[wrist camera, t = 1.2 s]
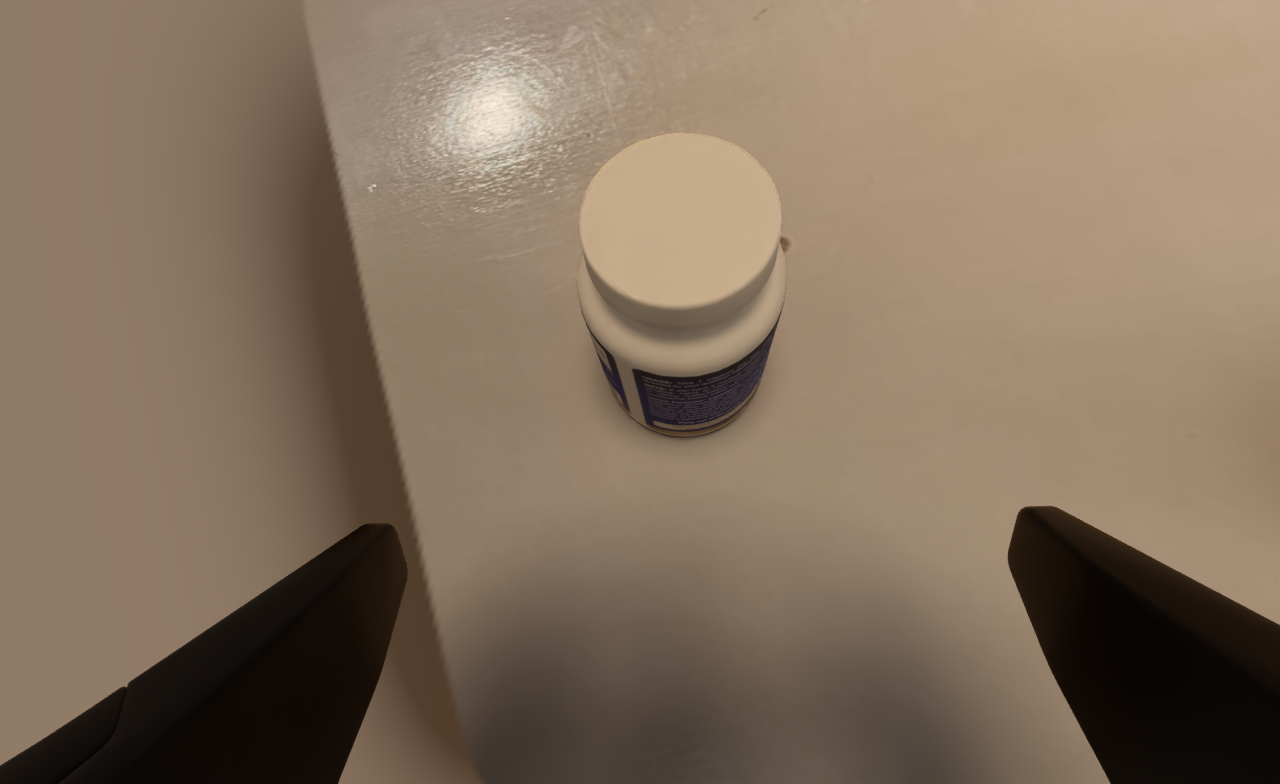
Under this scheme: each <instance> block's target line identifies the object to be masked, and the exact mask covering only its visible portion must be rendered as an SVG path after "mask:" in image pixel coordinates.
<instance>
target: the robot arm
mask: <svg viewBox="0 0 1280 784" xmlns="http://www.w3.org/2000/svg"><path fill="white" fill-rule="evenodd" d="M1008 564H1009V568H1010V571H1011V573H1012V576H1013V578H1014V581H1015V583H1016V586H1017V588H1018V591H1019V593H1020V596H1021V598H1022V601H1023V603H1024V606H1025V608H1026V611H1027V613H1028V616H1029V618H1030V621H1031V623H1032V626H1033V628H1034V631H1035V633H1036V636H1037V638H1038V641H1039V643H1040V646H1041V648H1042V651H1043V653H1044V656H1045V658H1046V660H1047V662H1048V665H1049V667H1050V669H1051V671H1052V673H1053V675H1054V677H1055V679H1056V681H1057V683H1058V685H1059V687H1060V689H1061V691H1062V693H1063V695H1064V697H1065V698H1066V700H1067V702H1068V704H1069V706H1070V708H1071V710H1072V712H1073V714H1074V715H1075V717H1076V719H1077V721H1078V723H1079V725H1080V727H1081V729H1082V730H1083V732H1084V734H1085V736H1086V738H1087V740H1088V742H1089V744H1090V746H1091V747H1092V749H1093V751H1094V753H1095V755H1096V757H1097V759H1098V761H1099V762H1100V764H1101V766H1102V768H1103V770H1104V772H1105V774H1106V776H1107V778H1108V779H1109V781H1110V783H1111V784H1280V625H1278V624H1277V623H1275V622H1273V621H1271V620H1269V619H1267V618H1265V617H1263V616H1261V615H1260V614H1258V613H1256V612H1254V611H1252V610H1250V609H1248V608H1246V607H1244V606H1242V605H1241V604H1239V603H1237V602H1235V601H1233V600H1231V599H1229V598H1227V597H1225V596H1224V595H1222V594H1220V593H1218V592H1216V591H1214V590H1212V589H1210V588H1208V587H1207V586H1205V585H1203V584H1201V583H1199V582H1197V581H1195V580H1193V579H1191V578H1189V577H1188V576H1186V575H1184V574H1182V573H1180V572H1178V571H1176V570H1174V569H1172V568H1171V567H1169V566H1167V565H1165V564H1163V563H1161V562H1159V561H1157V560H1155V559H1154V558H1152V557H1150V556H1148V555H1146V554H1144V553H1142V552H1140V551H1138V550H1136V549H1135V548H1133V547H1131V546H1129V545H1127V544H1125V543H1123V542H1121V541H1119V540H1118V539H1116V538H1114V537H1112V536H1110V535H1108V534H1106V533H1104V532H1102V531H1101V530H1099V529H1097V528H1095V527H1093V526H1091V525H1089V524H1087V523H1085V522H1083V521H1082V520H1080V519H1078V518H1076V517H1074V516H1072V515H1070V514H1068V513H1066V512H1065V511H1063V510H1061V509H1059V508H1057V507H1053V506H1029V507H1024V508H1022V509H1021V510H1020V511H1019V513H1018V515H1017V519H1016V522H1015V526H1014V530H1013V534H1012V538H1011V542H1010V546H1009V550H1008ZM407 576H408V569H407V563H406V560H405V556H404V553H403V550H402V546H401V543H400V540H399V537H398V533H397V531H396V529H395V527H394V526H393V525H391V524H389V523H378V524H365V525H363V526H361V527H359V528H358V529H356V530H355V531H353V532H352V533H350V534H349V535H347V536H346V537H344V538H343V539H341V540H340V541H339V542H337V543H335V544H334V545H333V546H331V547H330V548H328V549H326V550H325V551H324V552H322V553H321V554H319V555H318V556H316V557H315V558H313V559H312V560H310V561H309V562H307V563H306V564H304V565H303V566H301V567H300V568H298V569H297V570H295V571H294V572H292V573H291V574H289V575H288V576H286V577H285V578H283V579H282V580H280V581H279V582H277V583H276V584H275V585H273V586H271V587H270V588H269V589H267V590H266V591H264V592H263V593H261V594H260V595H258V596H257V597H255V598H254V599H252V600H251V601H249V602H248V603H246V604H245V605H244V606H242V607H240V608H239V609H237V610H236V611H234V612H233V613H231V614H230V615H228V616H227V617H225V618H224V619H222V620H221V621H219V622H218V623H216V624H215V625H213V626H212V627H211V628H209V629H208V630H206V631H205V632H203V633H202V634H200V635H199V636H197V637H196V638H194V639H193V640H191V641H190V642H188V643H187V644H185V645H184V646H182V647H181V648H179V649H178V650H176V651H175V652H173V653H172V654H170V655H169V656H168V657H166V658H164V659H163V660H161V661H160V662H158V663H157V664H155V665H154V666H152V667H151V668H150V669H148V670H147V671H145V672H144V673H142V674H141V675H139V676H138V677H136V678H135V679H133V680H132V681H130V682H129V684H128V686H127V687H121V688H119V689H118V690H117V691H115V692H114V693H112V694H111V695H109V696H108V697H106V698H105V699H103V700H102V701H100V702H99V703H97V704H96V705H94V706H93V707H91V708H90V709H88V710H87V711H85V712H84V713H82V714H81V715H79V716H78V717H76V718H75V719H73V720H72V721H70V722H69V723H67V724H65V725H64V726H62V727H61V728H59V729H58V730H56V731H55V732H54V733H52V734H50V735H49V736H47V737H46V738H44V739H42V740H41V741H39V742H38V743H36V744H35V745H33V746H31V747H30V748H28V749H26V750H25V751H23V752H22V753H20V754H18V755H17V756H15V757H14V758H12V759H10V760H9V761H7V762H5V763H4V764H2V765H1V766H0V784H338V782H339V779H340V777H341V774H342V772H343V769H344V767H345V764H346V762H347V759H348V757H349V754H350V752H351V749H352V747H353V744H354V742H355V739H356V737H357V734H358V732H359V729H360V726H361V724H362V721H363V719H364V716H365V714H366V711H367V709H368V706H369V704H370V701H371V699H372V696H373V694H374V691H375V688H376V686H377V683H378V680H379V677H380V675H381V671H382V668H383V665H384V661H385V658H386V655H387V651H388V647H389V644H390V640H391V636H392V633H393V629H394V626H395V622H396V618H397V615H398V611H399V607H400V604H401V600H402V597H403V593H404V589H405V586H406V582H407Z"/></svg>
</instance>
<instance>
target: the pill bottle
mask: <svg viewBox="0 0 1280 784" xmlns="http://www.w3.org/2000/svg"><path fill="white" fill-rule="evenodd" d="M781 229H782V209H781V203H780V198H779V195H778V193H777V190H776V187H775V185H774V183H773V181H772V179H771V178H770V176H769V175H768V173H767V172H766V170H765V169H764V168H763V167H762V165H761V164H760V163H759V162H758V161H757V160H756V159H755V158H753V157H752V156H751V155H750V154H749V153H747V152H746V151H745V150H743V149H742V148H740V147H738V146H736V145H734V144H732V143H730V142H728V141H726V140H723V139H720V138H717V137H714V136H710V135H705V134H698V133H669V134H663V135H659V136H654V137H651V138H648V139H645V140H642V141H639V142H637V143H635V144H633V145H631V146H629V147H627V148H625V149H624V150H622V151H621V152H619V153H618V154H616V155H615V156H614V157H613V158H611V159H610V160H609V161H608V162H607V163H606V164H604V165H603V167H602V168H601V169H600V170H599V171H598V172H597V174H596V175H595V177H594V178H593V179H592V181H591V183H590V184H589V186H588V188H587V190H586V192H585V195H584V197H583V200H582V204H581V208H580V214H579V238H580V244H581V248H582V252H581V255H580V259H579V264H578V270H577V292H578V298H579V303H580V307H581V311H582V315H583V317H584V320H585V322H586V325H587V328H588V330H589V333H590V335H591V338H592V341H593V343H594V346H595V349H596V351H597V354H598V357H599V359H600V362H601V365H602V367H603V370H604V372H605V375H606V378H607V380H608V382H609V385H610V387H611V389H612V392H613V394H614V395H615V397H616V399H617V401H618V402H619V404H620V405H621V406H622V408H623V409H624V410H625V411H626V412H627V413H628V414H629V415H630V416H631V417H632V418H634V419H635V420H636V421H637V422H639V423H640V424H642V425H644V426H646V427H647V428H649V429H651V430H654V431H657V432H659V433H663V434H667V435H673V436H695V435H701V434H705V433H709V432H712V431H714V430H717V429H719V428H721V427H723V426H725V425H726V424H728V423H729V422H731V421H732V420H733V419H735V418H736V417H737V416H738V415H739V414H740V413H741V412H742V411H743V410H744V409H745V408H746V407H747V405H748V404H749V403H750V401H751V400H752V398H753V396H754V395H755V393H756V391H757V388H758V386H759V384H760V381H761V378H762V374H763V371H764V367H765V364H766V361H767V357H768V354H769V350H770V347H771V344H772V340H773V337H774V334H775V331H776V328H777V324H778V321H779V318H780V315H781V311H782V308H783V304H784V299H785V294H786V285H787V271H786V262H785V257H784V253H783V250H782V247H781V245H780V235H781Z"/></svg>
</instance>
